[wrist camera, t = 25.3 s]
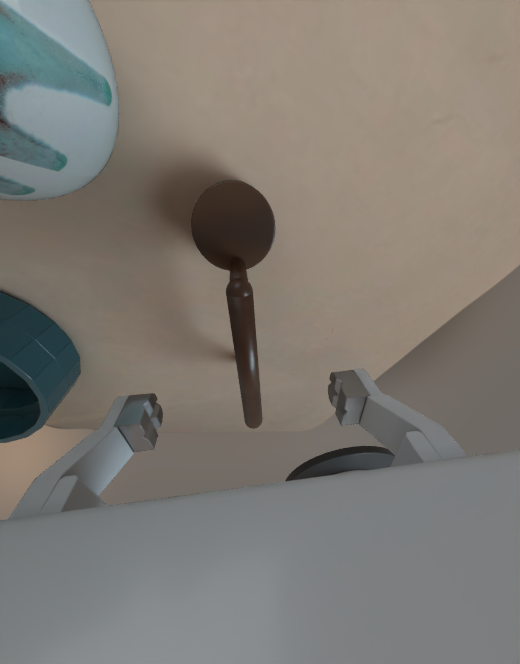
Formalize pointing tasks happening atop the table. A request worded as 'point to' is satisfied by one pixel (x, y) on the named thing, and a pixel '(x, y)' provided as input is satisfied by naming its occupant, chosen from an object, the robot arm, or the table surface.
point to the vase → (54, 98)
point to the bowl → (31, 368)
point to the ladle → (237, 269)
